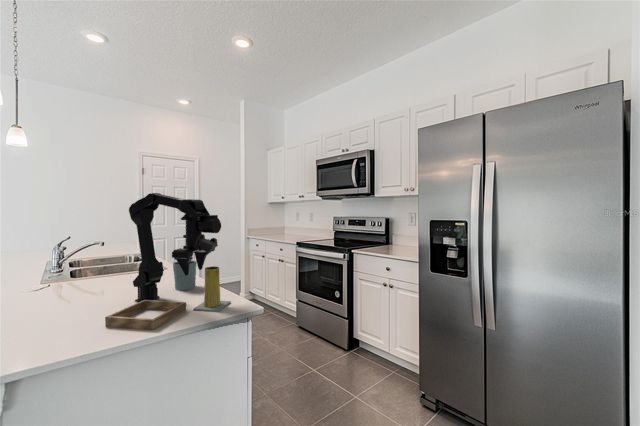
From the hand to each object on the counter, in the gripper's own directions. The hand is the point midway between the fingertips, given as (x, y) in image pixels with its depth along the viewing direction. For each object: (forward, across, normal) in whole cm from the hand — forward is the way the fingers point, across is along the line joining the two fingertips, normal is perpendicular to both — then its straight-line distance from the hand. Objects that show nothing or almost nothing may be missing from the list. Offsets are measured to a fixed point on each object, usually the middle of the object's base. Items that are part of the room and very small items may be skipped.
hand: (193, 272), depth 114 cm
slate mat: (+13, 0, -8) cm, 15 cm away
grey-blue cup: (+13, +21, +17) cm, 30 cm away
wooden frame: (+13, -14, +8) cm, 21 cm away
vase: (+12, 0, -8) cm, 15 cm away
